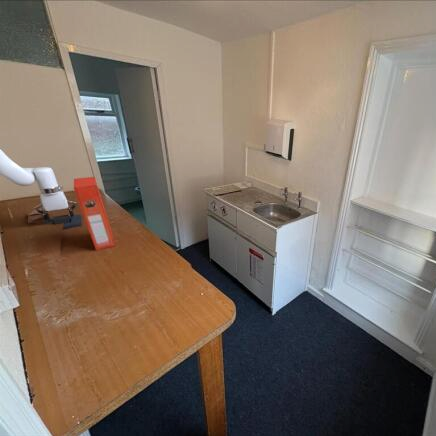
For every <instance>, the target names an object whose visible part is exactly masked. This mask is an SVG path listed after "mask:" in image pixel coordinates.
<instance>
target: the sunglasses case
mask: <svg viewBox="0 0 436 436" xmlns="http://www.w3.org/2000/svg"><path fill="white" fill-rule="evenodd" d="M39 209H40V210H42V211H45V210H44V208H43V207H41V208H39ZM26 216H27V224H37V223H42V222H43V223H44V221H45V220H46V218H45V216H44V215H43V214H41V213H39V212H37V211H36V210H35V209H33V210H32V211H31V212H29V213H27V214H26Z"/></svg>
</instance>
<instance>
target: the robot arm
mask: <svg viewBox="0 0 436 436" xmlns="http://www.w3.org/2000/svg"><path fill="white" fill-rule="evenodd" d="M0 175H1V176H3V177H4V178H5V179H7V180H9V181H11V182H12V183H13V184H16V185H17V186H22V187H28V186H31V185H33V184H34V183H35V182H36V184H37V186H38V188H39V191H40V193H39V198H40V204H38V205H36V206H34V207H33V210H36V211H37V212H39V213H41V214H43V215H44V216H45V218H46V220H48V221H50V219H51V217H50V215H49V212H52V211H61V210H67V211H68V213H69V216H71V217H72V218H73V216H74V215H75V213H74V211H73V210H74V209H76V206H77V202H76V201H71V200H68V199H67V197H66V195H65V193H64V191H63V190H64V187H63V186H60V185H59V184H58V181H57V177H56V175H55V173H54V170H53V168H51V167H49V166H40V167H22V166H20V165H19V164H17V163H16V162H14V161H13V160H12V159H11V158H10V157H9V156H7V154H5V152H4V151H3V150H2V149H1V148H0ZM70 205H72V206H70ZM41 207H42V208H43V209H44V210H45V211H42V210H40V209H39V208H41Z"/></svg>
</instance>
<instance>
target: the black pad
mask: <svg viewBox="0 0 436 436" xmlns="http://www.w3.org/2000/svg"><path fill="white" fill-rule="evenodd" d="M69 216H70V215H69V214H61V215H55V216H53V218H52V219H53V221H54V223H53V224H54V226H55V225H61V224H64V223H70V219H69Z"/></svg>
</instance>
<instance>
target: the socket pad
mask: <svg viewBox="0 0 436 436" xmlns="http://www.w3.org/2000/svg"><path fill="white" fill-rule="evenodd" d="M68 216H69V219H70V223H62V224H63V225H62V230H68V229H72V228H78V227H82V222H83V221H82V220H83V219H82V214H80V213H79V214H74V216H73V218H72V217H71V216H70V215H68ZM53 219H54V218H50V221H48V220H45V221H43V225H49V224H54V221H53Z"/></svg>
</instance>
